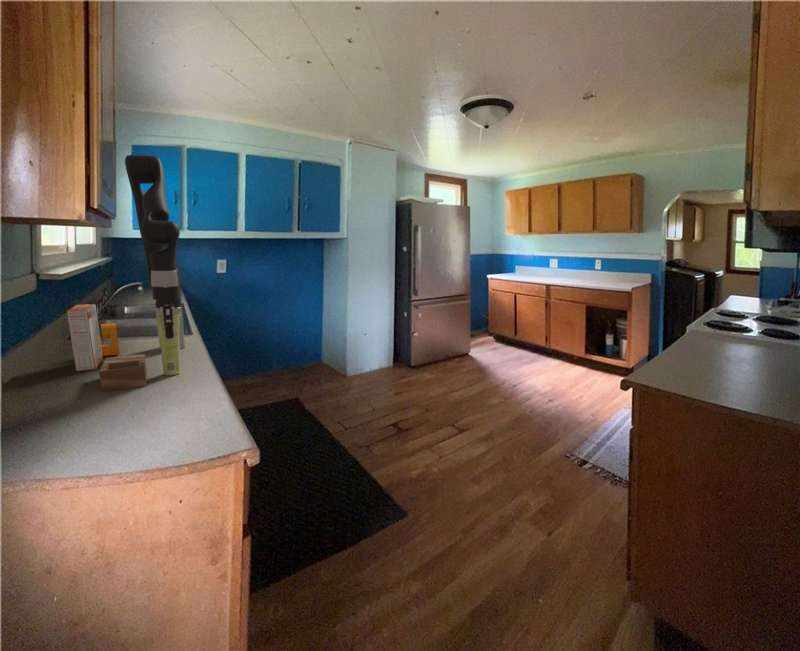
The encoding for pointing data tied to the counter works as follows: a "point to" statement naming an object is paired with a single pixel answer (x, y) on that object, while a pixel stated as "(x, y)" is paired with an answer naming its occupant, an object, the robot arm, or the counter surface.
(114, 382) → the wooden box
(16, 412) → the counter surface
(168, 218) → the robot arm
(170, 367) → the tube
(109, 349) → the bracket
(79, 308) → the cracker box
